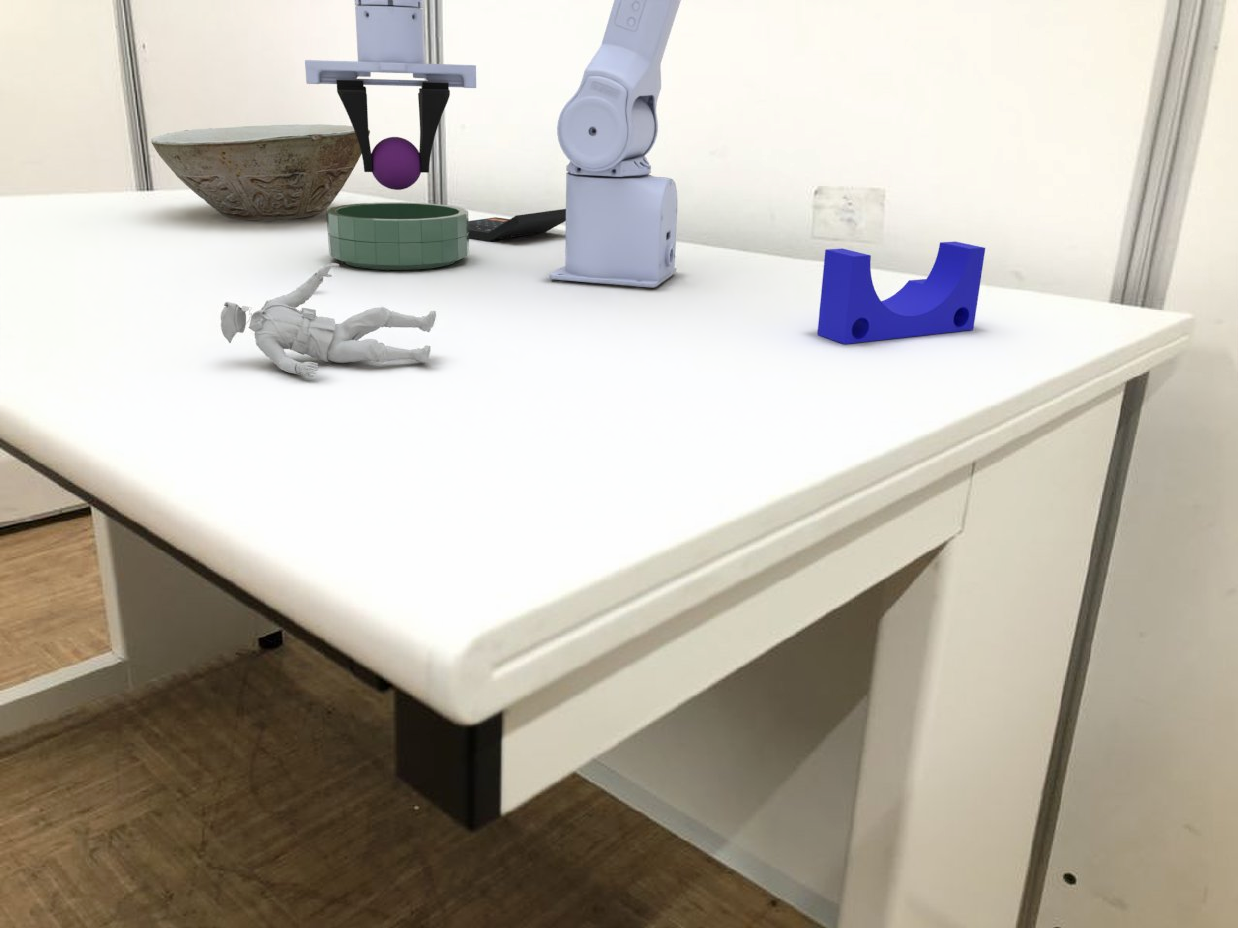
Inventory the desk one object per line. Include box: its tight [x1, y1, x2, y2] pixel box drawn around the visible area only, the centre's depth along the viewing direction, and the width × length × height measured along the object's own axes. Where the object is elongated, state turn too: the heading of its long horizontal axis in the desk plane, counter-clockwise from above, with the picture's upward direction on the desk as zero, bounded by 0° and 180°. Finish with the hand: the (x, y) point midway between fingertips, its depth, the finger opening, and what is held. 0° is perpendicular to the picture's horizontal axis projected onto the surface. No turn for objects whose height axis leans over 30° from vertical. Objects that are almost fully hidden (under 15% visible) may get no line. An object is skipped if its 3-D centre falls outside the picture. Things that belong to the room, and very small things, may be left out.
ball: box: [371, 136, 421, 191], centre depth 96 cm, size 5×5×5 cm
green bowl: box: [325, 201, 470, 271], centre depth 98 cm, size 13×13×4 cm
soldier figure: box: [220, 262, 437, 378], centre depth 64 cm, size 8×5×12 cm
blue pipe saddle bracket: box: [816, 241, 986, 345], centre depth 77 cm, size 12×4×6 cm, turn 117°
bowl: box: [150, 124, 371, 221], centre depth 122 cm, size 24×24×10 cm
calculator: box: [468, 208, 566, 242], centre depth 115 cm, size 9×12×3 cm
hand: (396, 171), depth 96 cm, fingers closed on ball, 4 cm apart
